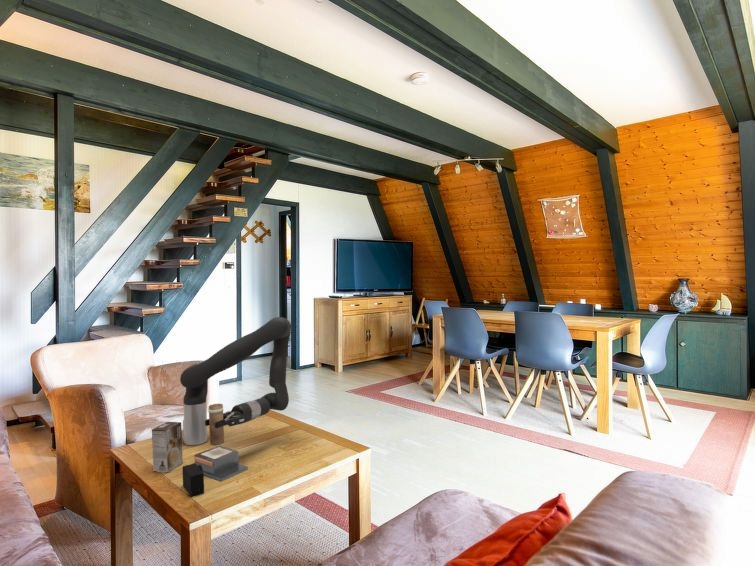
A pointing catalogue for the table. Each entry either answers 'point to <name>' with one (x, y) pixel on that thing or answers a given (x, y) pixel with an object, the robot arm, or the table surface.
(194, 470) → the digital camera
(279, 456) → the table surface
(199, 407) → the robot arm
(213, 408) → the column
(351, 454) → the table surface
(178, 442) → the coffee box
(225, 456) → the step stand
